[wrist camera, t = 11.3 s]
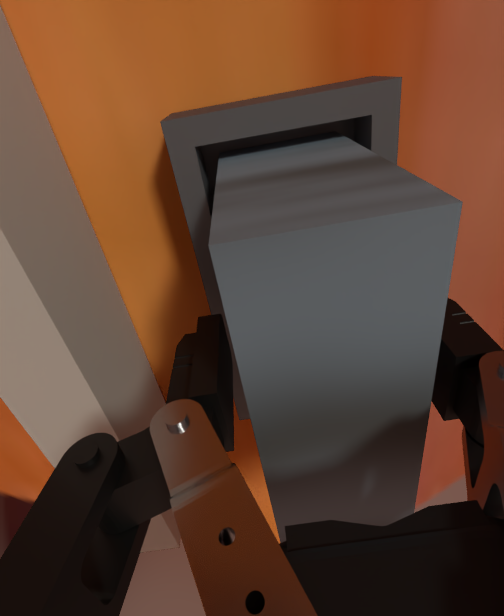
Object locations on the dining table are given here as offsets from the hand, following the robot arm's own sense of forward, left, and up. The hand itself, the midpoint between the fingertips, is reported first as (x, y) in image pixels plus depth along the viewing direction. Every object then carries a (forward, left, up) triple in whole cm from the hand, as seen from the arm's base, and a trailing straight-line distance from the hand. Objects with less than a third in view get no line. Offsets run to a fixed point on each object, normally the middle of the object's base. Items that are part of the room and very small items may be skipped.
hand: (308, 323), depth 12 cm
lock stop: (0, 0, -4) cm, 4 cm away
